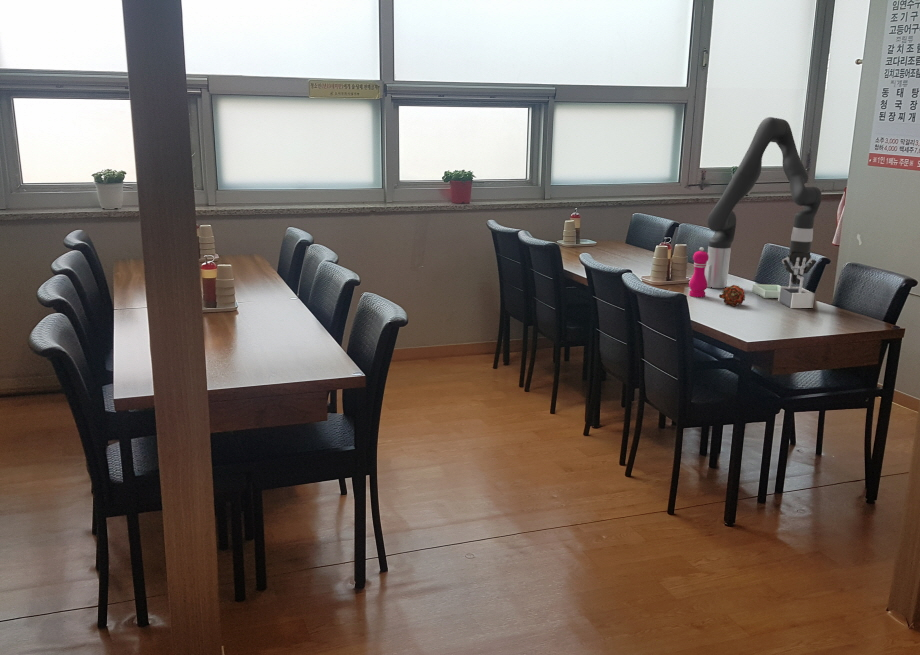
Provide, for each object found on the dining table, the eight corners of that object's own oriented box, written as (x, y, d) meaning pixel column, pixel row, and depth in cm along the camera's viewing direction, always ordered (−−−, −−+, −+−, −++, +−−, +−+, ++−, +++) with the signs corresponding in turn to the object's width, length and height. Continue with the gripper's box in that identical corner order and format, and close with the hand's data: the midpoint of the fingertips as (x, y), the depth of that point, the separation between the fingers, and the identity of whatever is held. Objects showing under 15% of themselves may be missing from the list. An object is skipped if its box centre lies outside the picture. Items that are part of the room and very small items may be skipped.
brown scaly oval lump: (735, 312, 305) (724, 309, 317) (754, 299, 305) (742, 297, 317) (723, 294, 304) (712, 292, 316) (742, 281, 304) (730, 280, 316)
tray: (764, 298, 324) (765, 291, 323) (752, 291, 337) (752, 284, 336) (790, 299, 324) (791, 291, 323) (777, 291, 337) (778, 284, 336)
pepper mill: (704, 294, 329) (709, 246, 324) (707, 298, 322) (712, 248, 317) (686, 293, 330) (691, 245, 325) (689, 297, 323) (694, 248, 318)
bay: (791, 308, 307) (793, 293, 305) (778, 301, 319) (779, 286, 318) (812, 309, 307) (814, 293, 306) (798, 301, 319) (800, 287, 318)
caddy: (789, 307, 308) (793, 277, 305) (779, 302, 318) (782, 272, 315) (807, 308, 308) (811, 277, 305) (796, 302, 318) (800, 272, 315)
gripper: (814, 238, 310) (808, 282, 315) (780, 237, 310) (774, 281, 314) (823, 241, 303) (817, 286, 307) (788, 240, 303) (782, 285, 307)
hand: (795, 283), depth 311 cm, fingers closed on caddy, 1 cm apart
